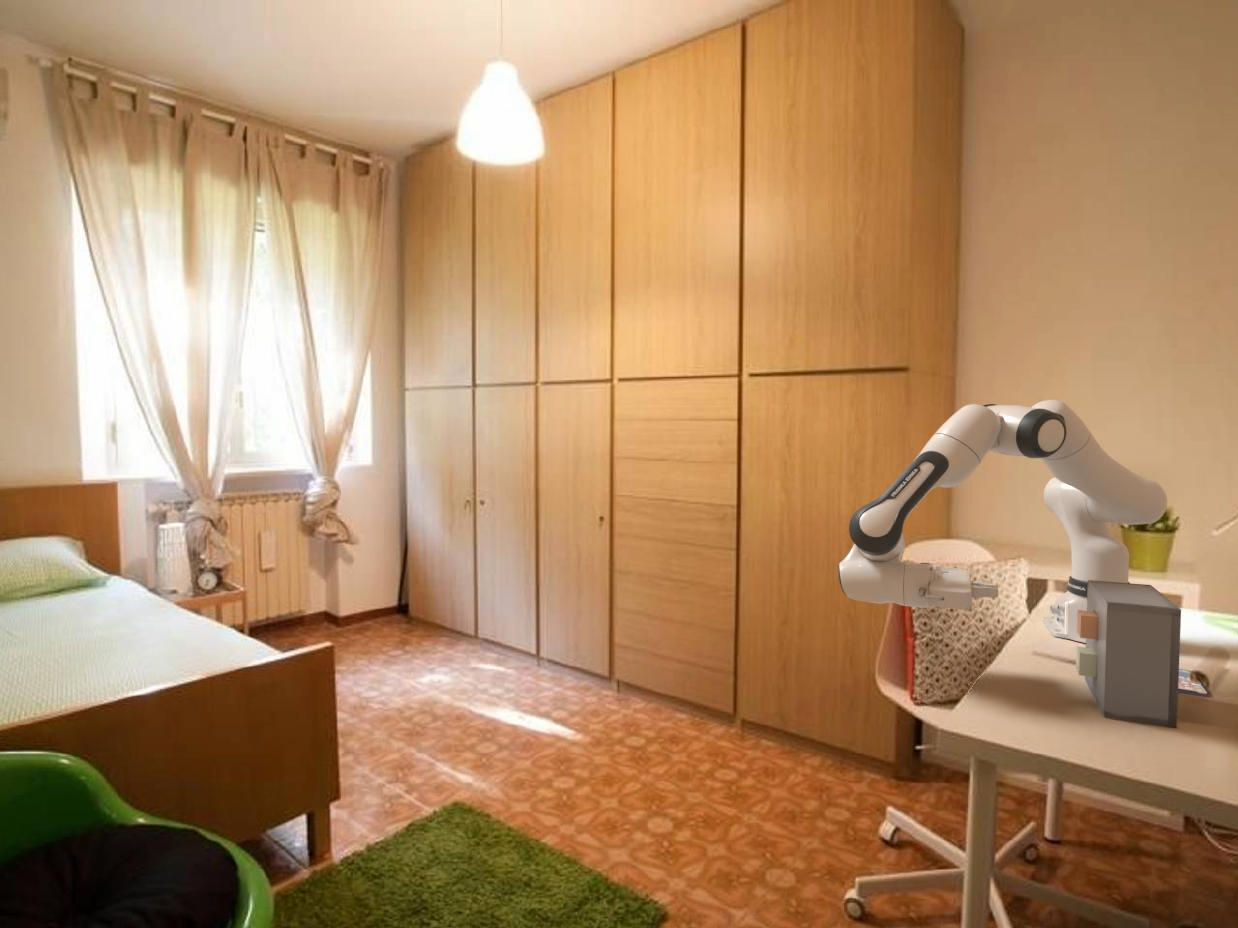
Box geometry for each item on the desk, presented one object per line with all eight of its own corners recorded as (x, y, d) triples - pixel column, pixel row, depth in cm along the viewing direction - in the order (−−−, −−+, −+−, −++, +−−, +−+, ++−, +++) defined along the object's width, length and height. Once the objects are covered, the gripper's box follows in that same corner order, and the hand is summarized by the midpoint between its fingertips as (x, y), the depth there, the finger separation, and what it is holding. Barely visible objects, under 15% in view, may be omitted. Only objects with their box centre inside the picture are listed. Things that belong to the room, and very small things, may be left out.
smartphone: (1192, 674, 138) (1211, 699, 125) (1147, 668, 142) (1161, 691, 129) (1192, 670, 138) (1211, 695, 125) (1147, 663, 142) (1161, 687, 129)
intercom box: (1103, 717, 117) (1107, 603, 116) (1084, 679, 135) (1087, 579, 134) (1176, 728, 113) (1181, 609, 112) (1147, 687, 130) (1150, 584, 129)
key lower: (1079, 675, 125) (1079, 652, 125) (1075, 667, 129) (1076, 646, 129) (1112, 679, 123) (1113, 656, 123) (1107, 672, 127) (1108, 649, 126)
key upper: (1080, 637, 125) (1081, 615, 125) (1076, 631, 128) (1077, 609, 128) (1113, 641, 122) (1114, 618, 122) (1108, 635, 126) (1109, 612, 126)
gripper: (917, 581, 129) (1000, 587, 123) (923, 560, 147) (995, 565, 141) (917, 613, 130) (1000, 621, 123) (923, 589, 148) (995, 595, 142)
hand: (998, 591), depth 132 cm, fingers closed
